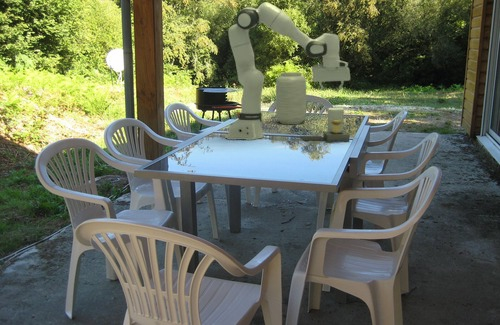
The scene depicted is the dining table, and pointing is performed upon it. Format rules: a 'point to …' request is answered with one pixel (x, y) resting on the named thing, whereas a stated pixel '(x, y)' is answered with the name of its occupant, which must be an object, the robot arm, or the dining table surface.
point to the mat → (312, 138)
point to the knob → (336, 126)
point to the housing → (336, 136)
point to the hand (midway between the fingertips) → (331, 89)
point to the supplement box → (335, 116)
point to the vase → (291, 98)
